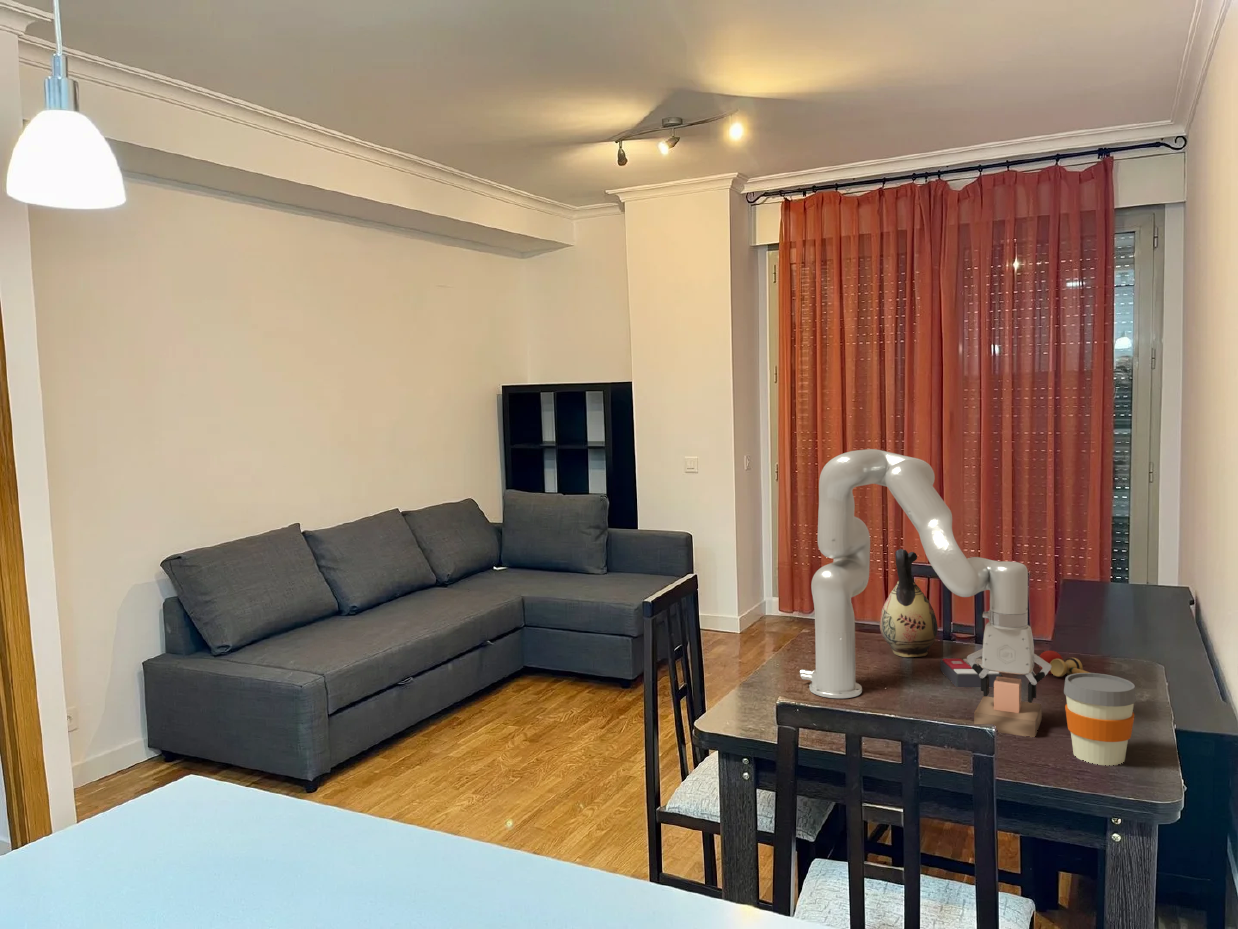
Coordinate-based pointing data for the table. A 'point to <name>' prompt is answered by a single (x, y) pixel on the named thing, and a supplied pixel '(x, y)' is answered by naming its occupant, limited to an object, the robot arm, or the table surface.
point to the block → (1007, 694)
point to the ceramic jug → (908, 613)
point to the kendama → (1061, 664)
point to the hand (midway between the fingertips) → (1008, 697)
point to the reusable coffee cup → (1099, 716)
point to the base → (1010, 717)
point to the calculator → (965, 673)
